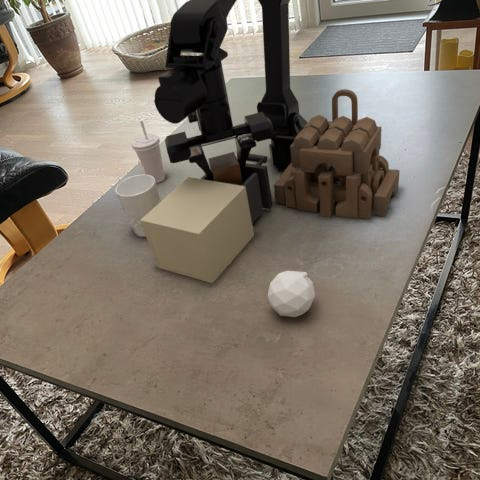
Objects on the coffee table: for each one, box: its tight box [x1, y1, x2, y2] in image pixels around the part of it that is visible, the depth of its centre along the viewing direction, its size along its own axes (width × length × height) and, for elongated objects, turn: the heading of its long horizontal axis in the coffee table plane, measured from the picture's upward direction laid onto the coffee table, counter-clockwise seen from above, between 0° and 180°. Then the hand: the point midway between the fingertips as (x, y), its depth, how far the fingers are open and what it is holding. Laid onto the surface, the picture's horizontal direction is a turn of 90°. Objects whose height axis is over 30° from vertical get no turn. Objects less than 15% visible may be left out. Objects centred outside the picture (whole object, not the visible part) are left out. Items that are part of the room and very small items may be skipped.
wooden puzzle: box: [273, 88, 400, 220], centre depth 91 cm, size 22×15×19 cm, turn 63°
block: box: [207, 151, 243, 186], centre depth 91 cm, size 5×5×5 cm
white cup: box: [114, 173, 162, 238], centre depth 97 cm, size 8×8×10 cm
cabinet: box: [140, 176, 255, 284], centre depth 88 cm, size 15×13×11 cm
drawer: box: [200, 153, 274, 224], centre depth 94 cm, size 18×11×9 cm, turn 148°
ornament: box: [267, 270, 316, 318], centre depth 74 cm, size 7×7×8 cm
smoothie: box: [131, 120, 166, 184], centre depth 110 cm, size 6×6×14 cm
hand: (227, 180), depth 92 cm, fingers closed on block, 5 cm apart
